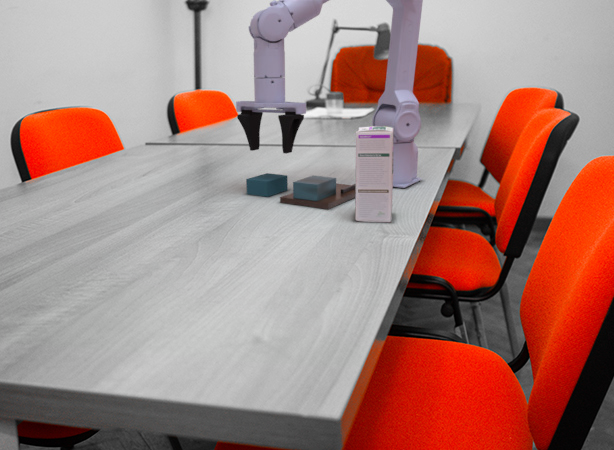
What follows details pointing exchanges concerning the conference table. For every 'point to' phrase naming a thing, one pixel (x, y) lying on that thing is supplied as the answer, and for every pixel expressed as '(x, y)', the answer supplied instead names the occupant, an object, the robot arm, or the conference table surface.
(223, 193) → the conference table surface
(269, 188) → the loose pad
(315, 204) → the assembly board
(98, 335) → the conference table surface
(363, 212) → the syrup box
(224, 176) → the conference table surface
